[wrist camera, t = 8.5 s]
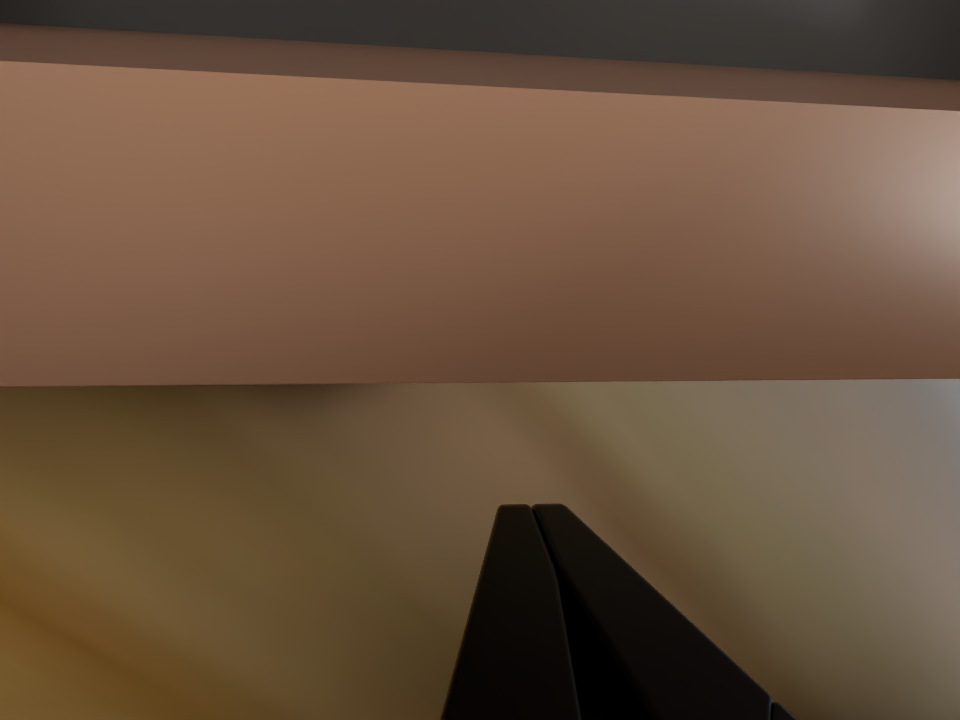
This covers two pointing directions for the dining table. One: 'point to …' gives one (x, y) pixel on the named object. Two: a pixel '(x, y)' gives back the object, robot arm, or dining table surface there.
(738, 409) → the dining table surface
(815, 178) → the tray
